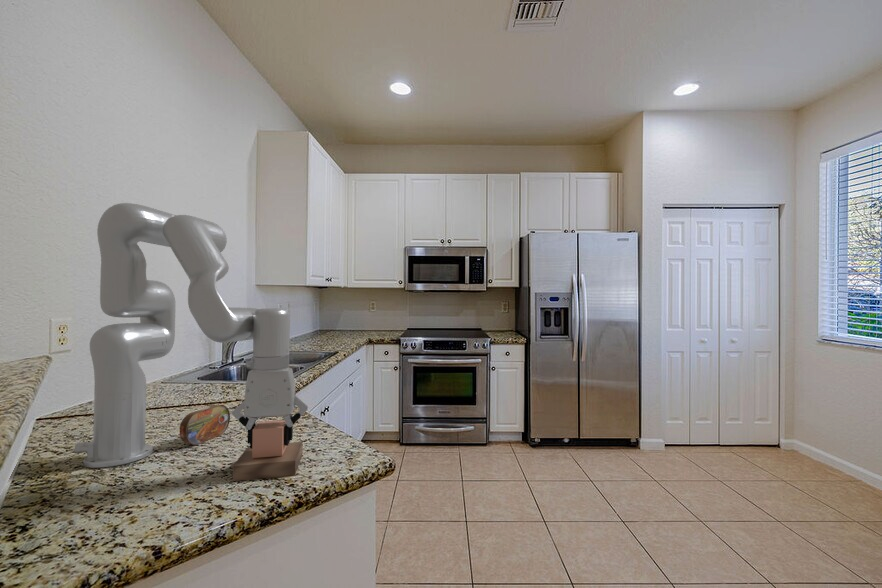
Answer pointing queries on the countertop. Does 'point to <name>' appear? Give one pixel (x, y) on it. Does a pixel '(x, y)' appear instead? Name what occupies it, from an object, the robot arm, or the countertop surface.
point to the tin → (204, 424)
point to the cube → (268, 439)
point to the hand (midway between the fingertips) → (270, 444)
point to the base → (268, 464)
